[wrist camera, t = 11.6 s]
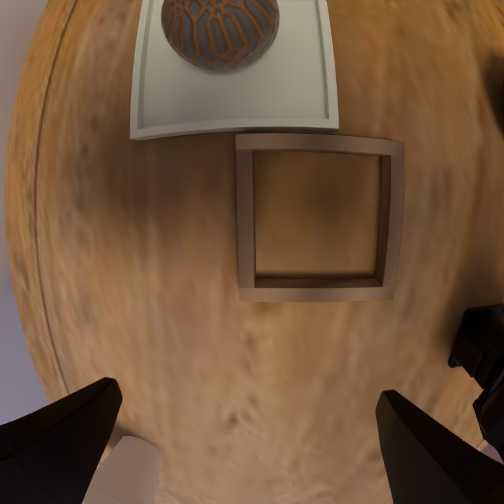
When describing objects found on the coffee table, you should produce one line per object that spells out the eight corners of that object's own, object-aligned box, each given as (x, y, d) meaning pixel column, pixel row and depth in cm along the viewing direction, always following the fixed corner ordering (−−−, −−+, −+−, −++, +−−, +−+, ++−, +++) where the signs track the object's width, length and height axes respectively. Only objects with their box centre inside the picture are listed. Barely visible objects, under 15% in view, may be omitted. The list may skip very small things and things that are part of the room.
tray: (318, -18, 14) (320, -27, 12) (334, 132, 18) (338, 128, 16) (151, -3, 15) (145, -11, 14) (139, 140, 19) (129, 138, 17)
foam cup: (165, 436, 27) (131, 522, 14) (181, 472, 29) (159, 544, 17) (100, 421, 28) (58, 490, 15) (123, 459, 30) (93, 520, 18)
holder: (393, 144, 17) (403, 142, 16) (384, 290, 20) (392, 299, 18) (239, 137, 18) (235, 134, 16) (242, 291, 21) (239, 301, 19)
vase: (176, 23, 15) (128, -38, 7) (265, 0, 14) (257, -76, 6) (192, 95, 17) (136, 46, 9) (290, 70, 16) (300, 1, 8)
